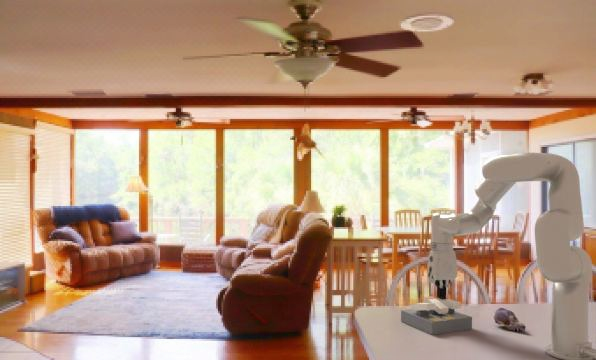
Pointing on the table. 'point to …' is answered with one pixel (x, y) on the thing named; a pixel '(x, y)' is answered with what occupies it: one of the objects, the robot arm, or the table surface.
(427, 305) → the block
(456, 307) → the rocker
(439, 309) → the rocker
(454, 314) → the switch unit
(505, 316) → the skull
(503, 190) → the robot arm
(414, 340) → the table surface
